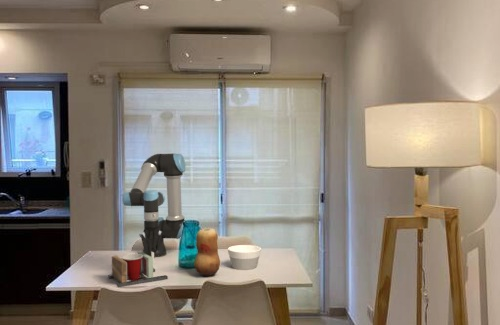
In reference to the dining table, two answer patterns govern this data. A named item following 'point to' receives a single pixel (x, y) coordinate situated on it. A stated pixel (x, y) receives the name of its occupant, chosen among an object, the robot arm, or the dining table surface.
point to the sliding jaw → (146, 265)
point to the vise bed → (121, 275)
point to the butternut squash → (207, 252)
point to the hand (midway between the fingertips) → (152, 264)
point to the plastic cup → (133, 265)
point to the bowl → (244, 256)
